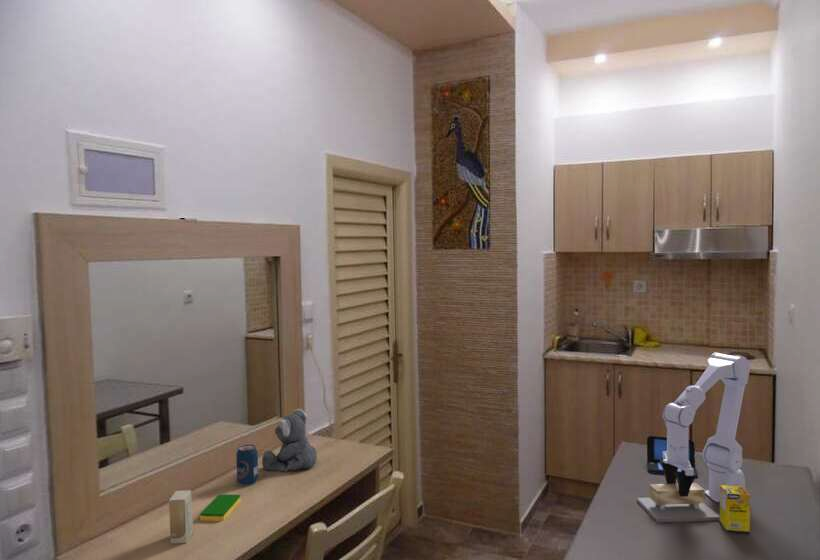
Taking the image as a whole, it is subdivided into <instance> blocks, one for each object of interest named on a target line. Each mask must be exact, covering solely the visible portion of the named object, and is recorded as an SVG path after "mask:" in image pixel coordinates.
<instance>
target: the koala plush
mask: <svg viewBox="0 0 820 560" xmlns="http://www.w3.org/2000/svg"><path fill="white" fill-rule="evenodd" d="M307 418H308V414H307V413H306V412H305V411H304V410H303V409H302V408H297V409H295V410H293V412H292V413H288V414H285V415H284V416H283V417H282V418H281V419H280V420H279V422H278V426H276V428H275V430H274V432H275V435H276V437H277V439H278V441H280V442H281V443H282V445H281V447H280V449H279V451H278V453H277V455H276V454H275V453H274V452H273V451H272V450H267V451H266V450H265V451H264V452H263V455H262V458H261V464H262V468H263V469H264V470H266V471H274V472H278V471H279V472H283V473H287V472H290V471H298V470H300V469H311V468H312V467H313V466H315V465H316V463H317V459H318V455H317V453H318V452H317V449H316V448H315V447H314V446H312V445H311V444H310V442H309V441H308V438H307V436H306V426H305V425H307V422H308V419H307Z"/></svg>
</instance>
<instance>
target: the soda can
mask: <svg viewBox="0 0 820 560" xmlns="http://www.w3.org/2000/svg"><path fill="white" fill-rule="evenodd" d="M235 456H236V457H235V459H236V460H235V461H236V481H237V482H238V485H241V486H244V487H246V486H253V485H255V484H256V483H257V481H258V480H259V458H258V456H259V455H258V450H257V447H256V446H255V445H254V444H243V445H240V446H238V447H237V451H236V453H235Z"/></svg>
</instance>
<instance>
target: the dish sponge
mask: <svg viewBox="0 0 820 560" xmlns="http://www.w3.org/2000/svg"><path fill="white" fill-rule="evenodd" d="M241 499H242V498H241V495H240V494H223V493H222V494H220V493H219V494H217V496H216V497H215V498H213V500H212V501H211V502H210V503H209V504H208V505H207V506H206V507H205V508H204V509H203V510H202V511H201V512H200V514H199V515H200V521H202V522H205V521H206V522H209V521H210V522H213V521H214V522H224V521H225V520H226V519H227V518H228V517H229V516H230V514H232V512H233V510H235V508H237V506H238V505H239V504H240V502H241Z"/></svg>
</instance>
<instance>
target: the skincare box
mask: <svg viewBox="0 0 820 560" xmlns="http://www.w3.org/2000/svg"><path fill="white" fill-rule="evenodd" d="M168 504H169V506H168V507H169V509H168V510H169V527H170V528H169V532H170V533H169V534H170V544H174V545H175V544H187V543H188V541H189V539H191V536H192V534H193V530H194V529H193V526H194V525H193V508H192V507H193V505H192V490H190V489H188V490H176V491H174V493H173V494H172V495H171V497H170V498H169V499H168Z"/></svg>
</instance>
